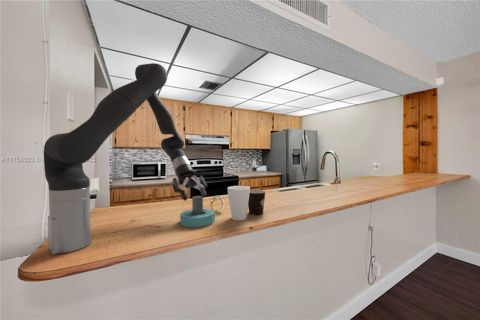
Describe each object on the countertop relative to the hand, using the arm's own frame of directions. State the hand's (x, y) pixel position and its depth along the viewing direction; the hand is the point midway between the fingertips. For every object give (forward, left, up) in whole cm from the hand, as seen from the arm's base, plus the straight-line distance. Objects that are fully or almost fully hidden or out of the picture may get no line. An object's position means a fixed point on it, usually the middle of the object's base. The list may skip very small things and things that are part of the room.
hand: (195, 198), depth 84 cm
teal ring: (0, -1, -9) cm, 9 cm away
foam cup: (+14, -11, -10) cm, 20 cm away
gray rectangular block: (0, -1, -9) cm, 9 cm away
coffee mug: (+26, -13, -10) cm, 31 cm away
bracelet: (+14, +2, -10) cm, 17 cm away
